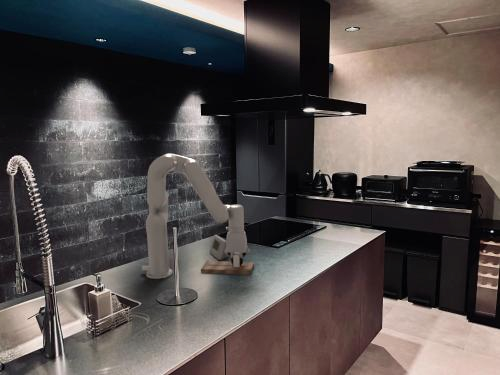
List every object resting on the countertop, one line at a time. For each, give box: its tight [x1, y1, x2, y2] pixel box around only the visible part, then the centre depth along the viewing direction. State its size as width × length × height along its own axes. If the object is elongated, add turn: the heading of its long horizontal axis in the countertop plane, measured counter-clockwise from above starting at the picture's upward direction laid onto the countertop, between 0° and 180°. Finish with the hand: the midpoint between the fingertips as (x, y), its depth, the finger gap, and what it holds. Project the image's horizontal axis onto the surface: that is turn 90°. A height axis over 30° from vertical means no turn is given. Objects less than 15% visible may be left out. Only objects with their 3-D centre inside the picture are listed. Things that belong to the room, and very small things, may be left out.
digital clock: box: [209, 234, 229, 261], centre depth 214 cm, size 16×9×11 cm, turn 15°
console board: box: [200, 260, 255, 276], centre depth 194 cm, size 25×12×2 cm, turn 82°
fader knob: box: [233, 253, 240, 267], centre depth 193 cm, size 3×5×6 cm, turn 172°
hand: (237, 264), depth 193 cm, fingers closed on fader knob, 3 cm apart
